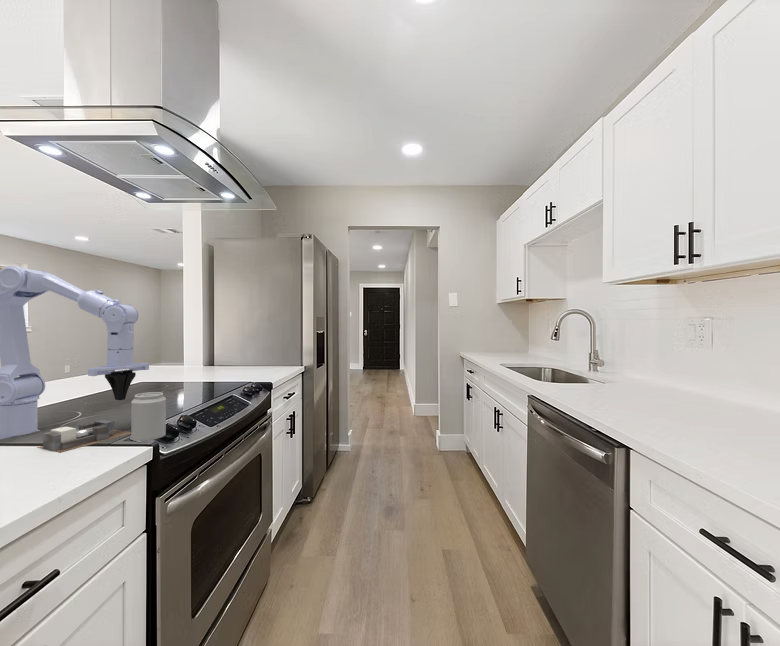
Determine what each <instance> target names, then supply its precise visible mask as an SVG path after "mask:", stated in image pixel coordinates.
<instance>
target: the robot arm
mask: <svg viewBox="0 0 780 646" xmlns="http://www.w3.org/2000/svg"><path fill="white" fill-rule="evenodd" d="M48 291H49V292H53V293H55V294H57V295H60V296H63V297H64V298H66V299H69V300H72V301H74V302H77V305H78V307H79V309H80V310H83V311H85V312H86V313H89V314H91V315H93V316H96V317H98V318H100V319H102V321H103V322H104V323H105V325H106V331H107V339H106V340H107V341H106V342H107V347H106V348H107V350H106V351H107V353H106V354H107V355H106V356H107V357H106V358H107V359H106V362H107V363H106V365H102V366H96V367H88V369H87V376H88V377H98V376H103V375H104V379H106V381H107V382H108V384H109V385H110V387H111V390H112V393H113V396H114V400H116V401H125V400H126V398H127V394H128V391H129V388H130V385H131V384H132V382H133V380H134V379H135V378H136V371H149V370H150V363H149V362H138V363H137V362H136V363H135V362H134V350H135V349H134V346H135V345H134V344H135V343H134V342H135V341H134V337H135V336H134V333H135V330H134V329H135V324H136V322H138V319H139V311H138V309H137V308H135V307H134V306H133V305H132V304H127V303H126V304H122V303H121V300H119V299H116V298H115V299H113V298H111V297H109V296H106V295H105V294H104V292H103V291H102V290H87V291H85V290H83V289H81V288H79V287H78V286H76V285H74V284H71V282H68V281H66V280H64V279H62V278H60V277H58V276H57V275H55V274H52V273H48V272H47V271H44V270H38V269H37V270H36V269H28V268H22V267H18V266H15V265H7V266H5V267H3V268H1V269H0V440H3V439H7V438H12V437H19V436H24V435H27V434H28V435H29V434H33V433H36V432H39V431H41V430H40V429H38V401H39V400H40V396H41V395H42V394H43V393H44V392H45V390H46V382H45V380H44V378H43V377H42V375H41V372H40V369H39V368H38V367H37V366H36V365H33V364H32V363H31V355H30V348H29V339H28V333H27V324H26V319H25V310H24V306H25V305H26V304H27V303H28V302H29V301H31V300H33V299H36V298H38V297H39V296H41V295H43V294H45V293H47V292H48Z"/></svg>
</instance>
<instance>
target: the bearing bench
mask: <svg viewBox="0 0 780 646" xmlns="http://www.w3.org/2000/svg"><path fill="white" fill-rule="evenodd" d="M91 427H93V428H92V435H91V436H87V437H83V438H79V439H75V440H71V441H67V442H63V443H61V434H57V433H52V432H51V431H48V432H44V433H42V446H37V447H36V448H37V449H42V450H46V451H50V452H53V453H54V452H55V453H58V454H61V453H66V452H69V451H73V450H75V449H80V448H83V447H84V448H85V447H86V446H90V445H94V444H97V443H102V442H105V441H109V440H112V439H116V438H120V437H123V436H127V435H131V431H125V430H119V429H115V428H114V435H110V436H109V426H106V425H102V426H97V427H94V422H86V423H82V424H78V425H77V428H78V429H77V431H78V430H83V429H87V428H91Z"/></svg>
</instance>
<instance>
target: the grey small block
mask: <svg viewBox="0 0 780 646" xmlns="http://www.w3.org/2000/svg"><path fill="white" fill-rule="evenodd" d="M93 423H94V427H97V426H102V425H106V426H109V436H110V435H114V429H115V422H114V421H113V420H108V419H100V420H96V421H94V422H93ZM92 428H93V427H91V428H87V429H83V430H78V429H77V430H76V439H79V438H83V437H87V436H91V435H92Z"/></svg>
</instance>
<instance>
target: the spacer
mask: <svg viewBox="0 0 780 646" xmlns="http://www.w3.org/2000/svg"><path fill="white" fill-rule="evenodd" d="M76 431H77V428H76V427H71V426H63V427H57V428H53V429H52V428H51V429H50V432H52V433H57V434H61V443H63V442H67V441H71V440H75V439H76Z"/></svg>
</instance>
